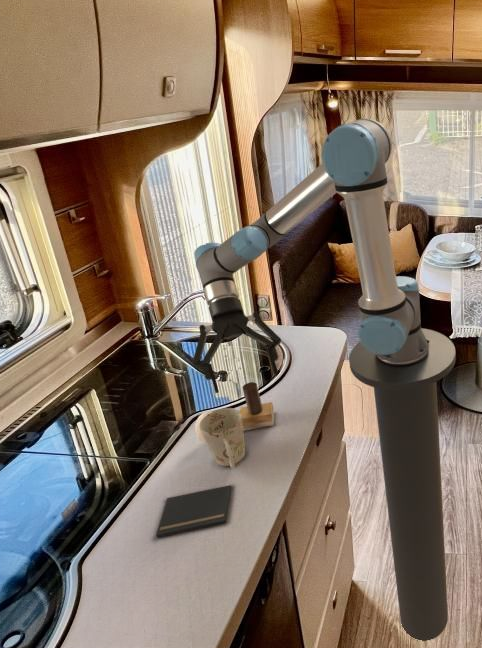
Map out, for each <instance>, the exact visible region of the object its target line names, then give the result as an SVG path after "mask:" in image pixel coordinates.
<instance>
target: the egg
mask: <svg viewBox="0 0 482 648" xmlns="http://www.w3.org/2000/svg"><path fill="white" fill-rule="evenodd" d="M212 412H214V411H212V410H207V411H204V412H202V413H201V414H200V415H199V416H198V417H197V419H196V421H195V424H194V433H195V436H196V438H197V439H198V440H199V441H200V442H201V443H203V444H206V445H208V444H207V442H206V441H205V439H204V437H203V435H202V433H201V431H200V427H199V426H200V422H201V421H202V419H203V418H204V417H205V416H207V415H208V414H210V413H212Z"/></svg>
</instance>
